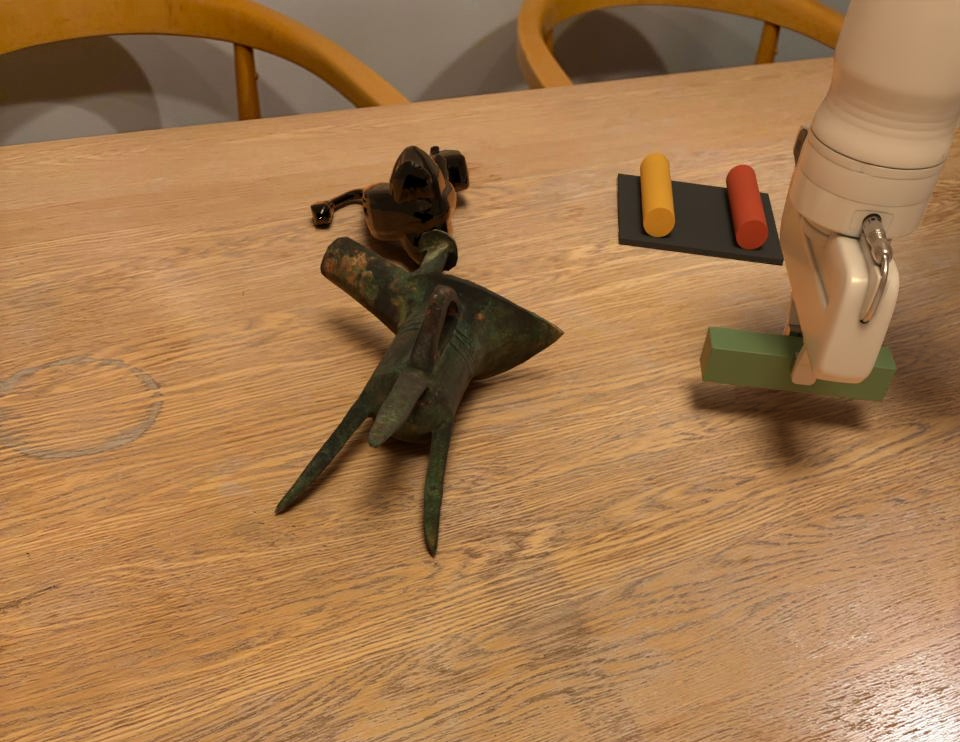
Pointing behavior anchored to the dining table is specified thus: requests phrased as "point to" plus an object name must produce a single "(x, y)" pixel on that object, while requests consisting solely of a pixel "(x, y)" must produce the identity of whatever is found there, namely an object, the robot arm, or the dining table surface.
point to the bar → (780, 365)
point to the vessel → (424, 353)
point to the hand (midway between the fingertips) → (796, 362)
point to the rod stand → (697, 214)
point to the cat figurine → (408, 197)
